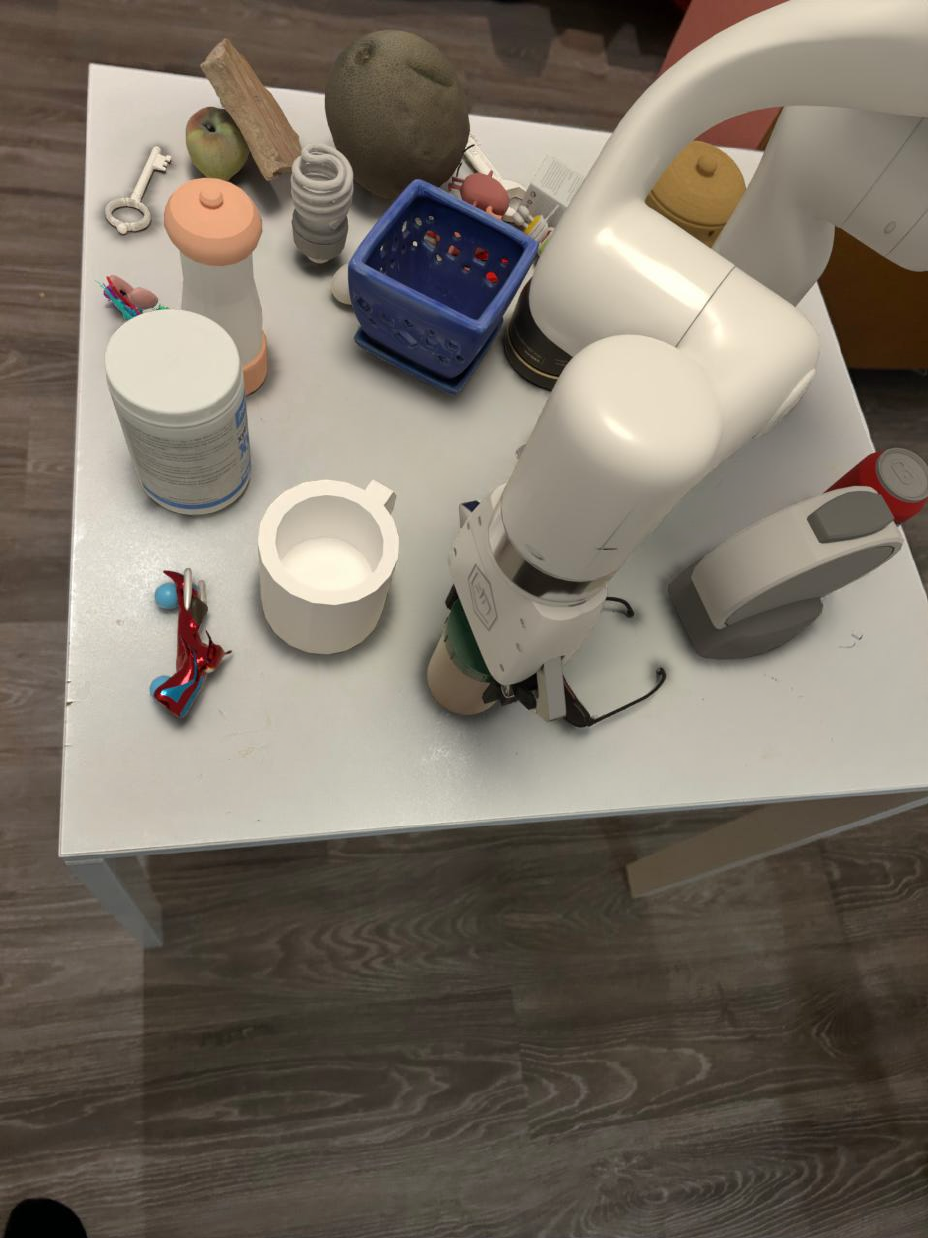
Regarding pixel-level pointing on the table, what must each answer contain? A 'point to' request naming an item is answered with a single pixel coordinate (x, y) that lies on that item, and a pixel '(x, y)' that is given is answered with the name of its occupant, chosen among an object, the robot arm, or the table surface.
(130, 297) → the anatomy model
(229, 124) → the apple
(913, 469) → the beverage can
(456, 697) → the jam jar
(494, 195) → the figurine
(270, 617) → the mug
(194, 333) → the supplement tub
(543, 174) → the cosmetic box
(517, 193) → the wrench
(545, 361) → the jar
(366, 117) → the cantaloupe
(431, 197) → the flower pot
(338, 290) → the egg
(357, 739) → the table surface
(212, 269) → the salt shaker
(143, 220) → the key
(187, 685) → the hoverbike
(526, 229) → the toy
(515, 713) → the table surface
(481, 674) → the lid
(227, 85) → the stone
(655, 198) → the pot
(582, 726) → the sunglasses
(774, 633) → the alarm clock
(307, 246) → the light bulb
